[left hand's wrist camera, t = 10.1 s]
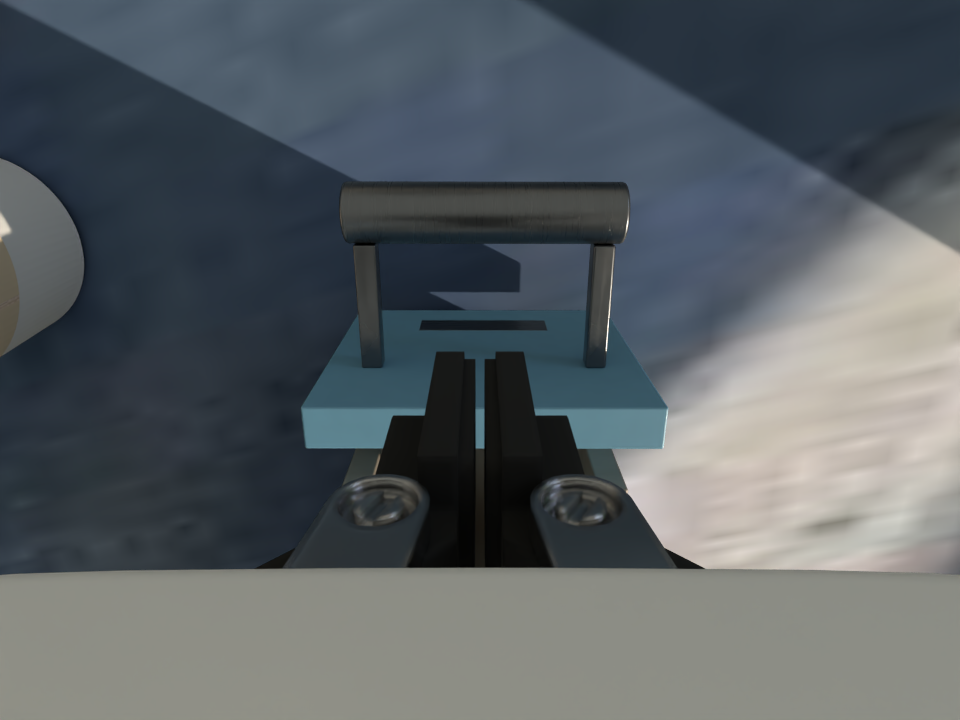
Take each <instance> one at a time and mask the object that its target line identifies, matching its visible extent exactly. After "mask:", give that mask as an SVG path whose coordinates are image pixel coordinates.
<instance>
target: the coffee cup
mask: <svg viewBox="0 0 960 720" xmlns="http://www.w3.org/2000/svg"><path fill="white" fill-rule="evenodd" d="M83 275H84V256H83V249H82V245H81V241H80V238H79V234H78V232H77V229H76V227H75V225H74V223H73V221H72V219H71V217H70V215H69V214H68V212H67V210H66V209H65V207H64V206H63V205H62V203H61V202H60V201H59V199H58V198H57V197H56V196H55V195H54V194H53V193H52V192H51V191H50V189H49V188H48V187H46V186H45V185H44V184H43V183H42V182H41V181H40V180H38V179H37V178H36V177H34V176H33V175H32V174H30V173H29V172H27V171H26V170H24V169H22V168H21V167H19V166H17V165H15V164H13V163H11V162H8V161H6V160H3V159H1V158H0V357H1V356H3V355H4V354H6V353H7V352H9V351H10V350H12V349H14V348H15V347H17V346H18V345H20V344H21V343H23V342H24V341H26V340H28V339H29V338H31V337H32V336H34V335H35V334H37V333H38V332H40V331H42V330H43V329H45V328H46V327H48V326H49V325H51V324H52V323H54V322H56V321H57V320H58V319H60V318H61V317H62V316H63V315H64V314H65V313H66V312H67V311H68V310H69V309H70V308H71V306H72V305H73V303H74V302H75V300H76V298H77V296H78V294H79V291H80V289H81V285H82V281H83Z"/></svg>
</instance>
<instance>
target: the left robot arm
mask: <svg viewBox="0 0 960 720" xmlns="http://www.w3.org/2000/svg"><path fill="white" fill-rule="evenodd" d="M475 528H476V361H475V359H465V353H464V351H436V356H435V361H434V366H433V372H432V377H431V383H430V388H429V393H428V399H427V404H426V410H425V415H393V417H392V419H391V422H390V426H389V429H388V433H387V436H386V439H385V443H384V446H383V450H382V453H381V457H380V460H379V463H378V467H377V470H376V474H375V475H371V476H365V477H361V478H358V479H355V480H352V481H350V482H348V483H346V484H344V485H343V486H341V487H339V488H338V489H336V491H335V492H334V493H333V494H332V495H331V496H330V497H329V498H328V500H327V501H326V503H325V504H324V506H323V507H322V509H321V510H320V512H319V513H318V515H317V516H316V518H315V520H314V521H313V523H312V524H311V526H310V527H309V529H308V530H307V532H306V533H305V535H304V536H303V538H302V539H301V541H300V542H299V544H298V545H297V547H296V548H295V549H293V550H291V551H289V552H287V553H285V554H283V555H281V556H279V557H277V558H275V559H273V560H271V561H269V562H267V563H265V564H263V565H261V566H259V567H257V568H255V569H219V570H127V571H93V572H61V573H29V574H8V575H0V720H960V575H950V574H934V573H901V572H864V571H827V570H746V569H705V568H703V567H701V566H699V565H697V564H695V563H693V562H691V561H689V560H687V559H685V558H683V557H681V556H679V555H677V554H675V553H673V552H671V551H669V550H667V549H665V548H664V547H663V545H662V544H661V542H660V541H659V539H658V538H657V536H656V535H655V533H654V532H653V530H652V529H651V527H650V526H649V524H648V523H647V521H646V520H645V518H644V516H643V515H642V513H641V512H640V510H639V509H638V507H637V506H636V504H635V503H634V501H633V500H632V498H631V497H630V496H629V495H628V494H627V493H626V492H625V491H624V489H622V488H621V487H619V486H617V485H616V484H614V483H612V482H610V481H608V480H605V479H602V478H599V477H595V476H589V475H585V474H584V470H583V467H582V463H581V460H580V457H579V453H578V450H577V446H576V443H575V439H574V436H573V433H572V429H571V426H570V422H569V419H568V417H567V415H535V410H534V404H533V399H532V393H531V388H530V383H529V377H528V372H527V366H526V361H525V356H524V351H496V353H495V359H485V361H484V528H485V568H475Z"/></svg>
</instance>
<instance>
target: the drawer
mask: <svg viewBox="0 0 960 720" xmlns="http://www.w3.org/2000/svg"><path fill="white" fill-rule="evenodd" d="M339 216H340V225H341V230H342V234H343V237H344V239H345V241H346V242H347V243H355V244H354V246H353V251H354V265H355V279H356V292H357V306H358V315H357V317H356V318H355V320H354V322H353V323H352V325H351V326H350V328H349V330H348V331H347V333H346V335H345V336H344V338H343V340H342V341H341V343H340V344H339V346H338V348H337V349H336V351H335V353H334V354H333V356H332V358H331V359H330V361H329V362H328V364H327V366H326V367H325V369H324V371H323V372H322V374H321V375H320V377H319V379H318V380H317V382H316V384H315V385H314V387H313V389H312V390H311V392H310V393H309V395H308V397H307V398H306V400H305V402H304V403H303V405H302V407H301V415H302V424H303V432H304V441H305V447H306V448H356V450H355V452H354V455H353V458H352V460H351V463H350V466H349V468H348V471H347V474H346V476H345V479H344V482H343V484H342V486H343V485H344V484H346V483H348V482H350V481H352V480H355V479H358V478H361V477H365V476H371V475H375V474H376V470H377V467H378V463H379V460H380V457H381V453H382V450H383V446H384V443H385V439H386V436H387V433H388V429H389V426H390V422H391V419H392V417H393V415H425V410H426V404H427V399H428V393H429V388H430V383H431V377H432V372H433V366H434V361H435V356H436V351H464V353H465V359H475V361H476V528H475V568H485V528H484V361H485V359H495V353H496V351H524V356H525V361H526V366H527V372H528V377H529V383H530V388H531V393H532V399H533V404H534V410H535V415H567V417H568V419H569V422H570V426H571V429H572V433H573V436H574V439H575V443H576V446H577V450H578V453H579V457H580V460H581V463H582V467H583V470H584V474H585V475H589V476H595V477H599V478H602V479H605V480H608V481H610V482H612V483H614V484H616V485H617V486H619V487H621V488H622V489H624V491H625V492H626V493H627V492H628V489H627V487H626V484H625V482H624V479H623V477H622V474H621V472H620V469H619V467H618V464H617V461H616V459H615V456H614V454H613V451H612V449H662V448H663V447H664V439H665V431H666V423H667V415H668V407H667V405H666V404H665V402H664V401H663V399H662V398H661V396H660V395H659V393H658V391H657V390H656V388H655V387H654V385H653V384H652V382H651V381H650V379H649V377H648V376H647V374H646V373H645V371H644V370H643V368H642V367H641V365H640V364H639V362H638V360H637V359H636V357H635V356H634V354H633V353H632V351H631V350H630V348H629V346H628V345H627V343H626V342H625V340H624V339H623V337H622V336H621V334H620V332H619V331H618V329H617V328H616V326H615V325H614V323H613V322H612V320H611V319H610V309H611V296H612V284H613V272H614V260H615V245H614V244H620V243H622V242H623V241H624V240H625V238H626V235H627V232H628V227H629V220H630V195H629V190H628V186H627V184H626V183H624V182H345V183H343V185H342V187H341V191H340V198H339ZM378 243H408V244H591V246H590V261H589V276H588V290H587V305H586V311H549V310H382V301H381V284H380V267H379V249H378Z"/></svg>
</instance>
